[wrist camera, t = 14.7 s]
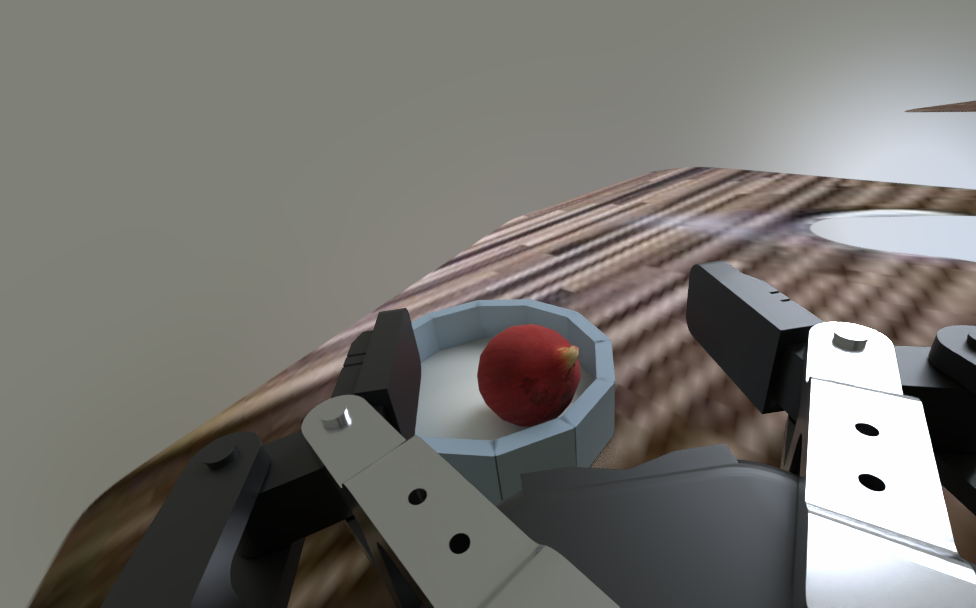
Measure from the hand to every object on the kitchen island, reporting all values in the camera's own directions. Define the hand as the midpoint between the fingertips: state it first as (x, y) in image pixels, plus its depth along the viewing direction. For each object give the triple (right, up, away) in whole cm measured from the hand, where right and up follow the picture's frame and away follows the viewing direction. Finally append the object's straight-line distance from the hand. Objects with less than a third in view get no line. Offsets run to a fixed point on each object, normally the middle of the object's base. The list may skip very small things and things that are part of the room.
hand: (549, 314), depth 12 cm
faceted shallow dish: (-2, -7, +18) cm, 19 cm away
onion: (-1, -5, +16) cm, 17 cm away
